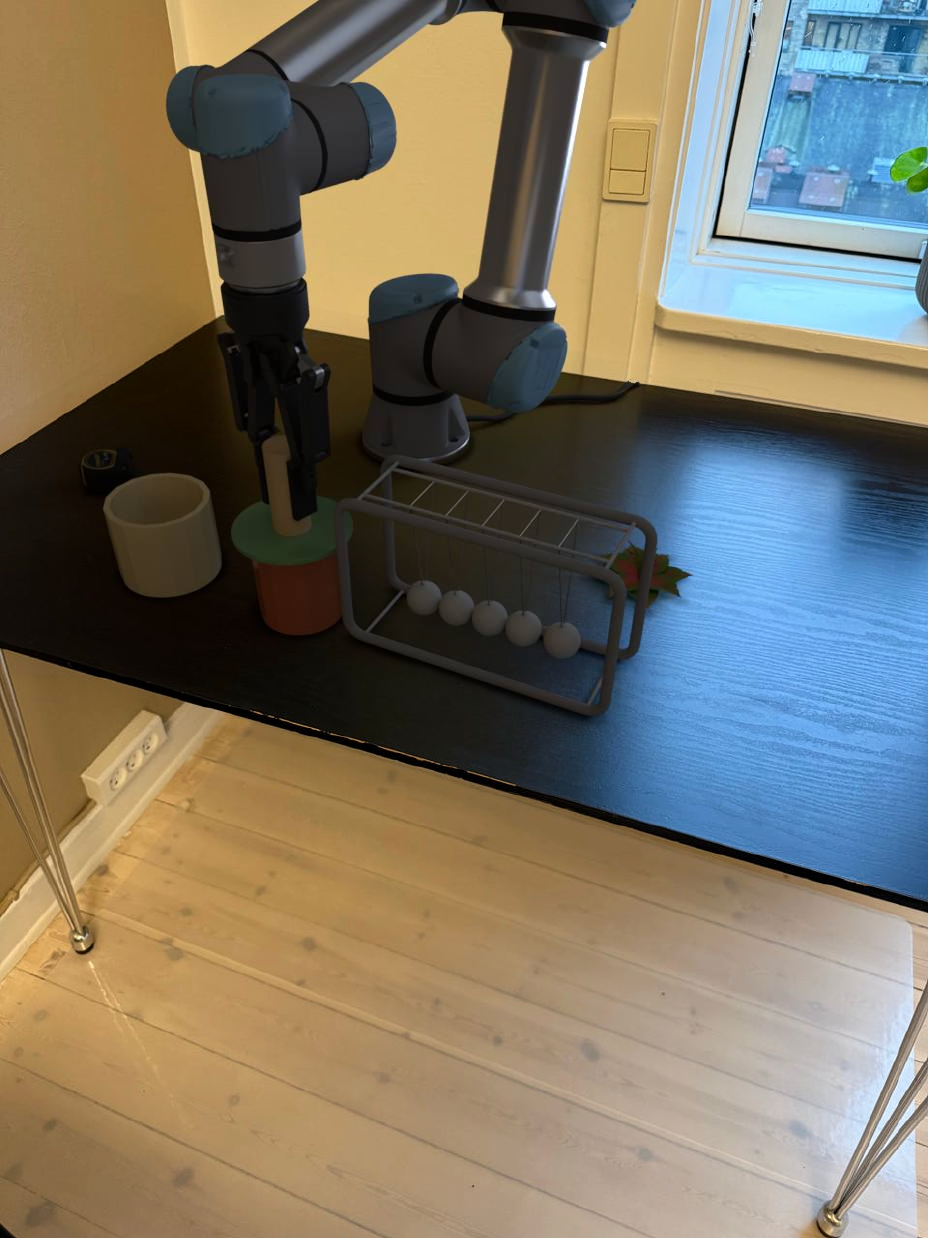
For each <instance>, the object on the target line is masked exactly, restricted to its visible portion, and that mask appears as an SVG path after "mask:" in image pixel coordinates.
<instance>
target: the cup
mask: <svg viewBox="0 0 928 1238" xmlns="http://www.w3.org/2000/svg"><path fill="white" fill-rule="evenodd" d="M251 560H252V559H251ZM251 562H252V567H253V574H254V579H255V587H256V592H257V598H258V604H259V612H260V615H261V617H262V618H261V619H262V621H263V622H264V623H265V624H266V625H267V626H268V627H269V628H270V629H272V630H273V631H275V632H278V633H280V634H284V635H288V636H307V635H313V634H318V633H321V632H323V631H325V630H327V629H330V628H331V627H332V626H334V625H335V624H336V623H337V622H338V621H339V620H340V619H341V617H342V606H341V595H340V584H339V573H338V562H337V552H335V553H334V554H332V555H330V556H328V557H326V558H323V559H321V560H318V561H314V562H311V563H306V564H300V565H288V566H283V565H270V564H265V563H261V562H258V561H255V560H252V561H251Z"/></svg>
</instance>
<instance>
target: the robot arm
mask: <svg viewBox="0 0 928 1238" xmlns="http://www.w3.org/2000/svg"><path fill="white" fill-rule="evenodd" d="M636 3H637V0H316V1H315V2H314V3H312V4H311V5H309V6H308V7H306V8H305V9H304V10H302V11H300V12H299V13H298V14H296V15H294V16H293V17H291V18H290V19H288V21H285V23H283V24H281V25H280V26H279V27H277V28H276V29H274V30H273V31H271V32H270V33H268V34H267V35H265V36H264V37H263V38H261V39H259V40H258V41H256V42H255V43H254V44H252V45H250V46H249V47H248V48H247V49H245V50H244V51H243V52H240V53H239V54H238V55H236V56H235V57H233V58H231V59H230V60H228V61H227V62H225V63H224V64H222V65H220V66H217V67H215V66H214V65H212V64H211V65H210V64H207V63H206V64H200V65H189V66H185V67H184V68H181V69H180V70H179V71H178V72H177V73H176V74H175V75H174V76H173V78H172V79H171V80H170V83H169V86H168V88H167V91H166V97H165V111H166V117H167V121H168V123H169V127H170V129H171V132H172V133H173V135H174V136H175V138H176V140H177V141H178V142H180V143H181V145H182V146H184V147H185V148H187V149H188V150H191V151H193V152H195V153H199V157H200V158H199V159H200V163H201V169H202V175H203V181H204V187H205V194H206V199H207V200H206V201H207V205H208V206H207V207H208V212H209V218H210V225H211V230H212V234H213V241H214V249H215V256H216V262H217V263H216V264H217V270H218V276H219V278H220V279H221V280H222V281H223V282H222V284H221V285H220V287H219V288H220V295H221V302H222V309H223V315H224V321H225V323H226V325H227V327H228V328H229V329H230V330H226V331H224V332H221V333H219V334H217V335H216V342H217V345H218V348H219V350H220V353H221V355H222V357H223V363H224V367H225V374H226V380H227V385H228V391H229V397H230V401H231V407H232V408H231V409H232V414H233V418H234V424H235V428H236V429H237V431H238V432H240V433H242V432H244V433H246V434H247V439H248V440H249V442H250V443H251V444H252V447H253V454H254V462H255V465H256V469H257V471H258V477H259V484H260V492H261V501H263V503H265V504H267V505H268V504H270V502H269V495H268V488H267V481H266V473H265V466H264V459H263V452H262V444H263V442H264V441H266V440H267V439H269V438H271V437H273V436H274V435H276V434H278V433H280V431H281V429H279V428H278V427H277V426H276V424H275V423H276V401H277V405H278V410H279V413H280V417H281V422H282V425H283V429H284V435H286V438H287V442H288V446H289V450H290V454H291V458H292V459H291V460H289V461H287V462H286V465H287V474H288V482H289V491H290V499H291V508H292V516H293V519H294V520H296V521H297V522H298V521H300V520H302V519H304V518H306V517H307V516H309V515H311V514H313V513H315V512H317V511H318V508H317V498H316V496H317V489H318V484H319V483H318V476H317V475H318V474H317V473H318V472H317V464H318V463H320V462H322V461H324V460H326V459H328V458H330V457H331V456H332V449H331V430H330V413H329V412H330V411H329V410H330V409H329V395H328V391H329V390H328V387H329V382H330V378H331V376H332V375H331V374H332V370H331V366H330V365H329V364H328V363H327V362H323V363H321V364H318V363H316V362H315V361H314V360H313V359H312V358H311V357H310V356H309V348H308V345H307V344H306V341H305V338H304V330H305V328H306V325H307V323H308V322H309V320H310V315H311V313H310V303H309V293H308V292H309V291H308V282H307V280H306V279H305V278H304V276H305V274H306V272H307V263H306V252H305V243H304V235H303V222H302V209H301V196H305V195H309V194H313V193H314V192H318V191H321V190H324V189H328V188H332V187H335V186H338V185H341V184H345V183H348V182H351V181H360V180H362V179H364V177H366V176H368V175H370V174H372V173H375V172H377V171H380V170H381V169H383V168H384V167H386V165H387V164H388V163H389V162H390V160H391V159H392V157H393V155H394V153H395V150H396V147H397V141H398V139H397V136H398V135H397V134H398V130H397V120H396V117H395V112H394V111H393V108H392V106H391V104H390V102H389V100H388V99H387V97H386V96H385V94H383V92H382V91H381V90H380V89H379V88H377V87H376V86H375V85H372V84H371V83H369V82H365V81H356V82H353V81H354V80H355V79H357V78H358V77H359V76H361V75H362V74H364V72H366V71H367V70H369V69H371V68H372V67H373V66H374V65H375V64H377V63H378V62H380V61H381V60H382V59H384V58H385V57H386V56H388V54H390V53H391V52H394V50H395V49H397V48H399V46H401V45H402V44H403V43H405V42H406V41H407V40H409V39H410V38H411V37H413V36H414V35H415V34H417V33H418V32H420V31H421V30H422V29H423V28H425V27H426V26H428V25H430V26H441V25H445V24H447V23H448V22H450V21H451V20H453V19H454V18H455V17H456V16H458V15H461V14H467V13H475V12H476V13H478V12H479V13H480V12H486V13H497V14H502V20H501V21H502V22H501V28H500V31H501V33H502V34H503V36H504V38H505V40H506V41H507V43H508V44H509V46H510V50H511V55H510V61H509V68H508V75H507V82H506V88H505V94H504V100H503V107H502V113H501V121H500V127H499V135H498V140H497V148H496V154H495V161H494V167H493V173H492V180H491V181H492V182H491V186H490V194H489V201H488V206H487V207H488V208H487V213H486V220H485V228H484V234H483V235H484V236H483V239H482V240H483V241H482V246H481V247H482V248H481V254H480V260H479V266H478V272H477V273H478V274H477V276H476V277H475V278H474V279H473V280H472V281H471V282H470V283H469V284H467V285H466V286H465V287H464V288H463V291H462V296H461V297H459V293H460V288H459V285H458V282H457V280H456V279H455V278H454V277H453V276H451V275H447V274H442V273H413V274H406V275H401V276H396V277H393V278H390V279H387V280H385V281H382V282H381V283H379V284H377V285H376V286H375V287H374V288H373V289H372V290H371V292H370V294H369V297H368V317H367V319H366V320H367V327H368V340H369V341H368V342H369V355H370V370H371V382H372V383H371V384H372V385H371V386H372V395H371V397H370V402H369V406H368V408H367V412H366V415H365V420H364V422H363V425H362V431H361V432H362V433H361V437H362V438H361V441H362V448H363V450H364V452H365V453H366V455H368V456H369V457H370V458H371V459H373V460H374V461H375V462H377V463H380V464H382V463H383V461H384V460H385V459H386V458H387V457H388V456H391V455H403V456H407V457H411V458H415V459H418V460H422V461H426V462H430V463H434V464H438V465H442V466H445V465H448V464H450V463H452V462H455V461H456V460H458V459H460V458H461V457H462V456H464V454H466V452H467V451H468V449H469V448H470V438H471V437H470V434H471V433H470V432H471V431H470V428H469V424H468V422H469V423H470V422H472V423H473V422H487V423H490V422H491V423H497V422H501V421H504V420H507V419H509V418H510V417H512V416H514V415H515V414H525V413H528V412H531V411H532V410H534V409H535V408H537V407H538V406H540V404H546V403H555V402H565V401H566V402H567V401H586V402H587V401H588V402H602V401H611V400H615V399H617V398H620V397H621V396H622V395H624V394H625V393H626V391H624V392H622V393H619V394H615V393H614V392H613V393H614V394H615V395H613V394H611V393H607V394H583V393H582V394H579V393H577V394H576V393H575V394H574V393H573V394H572V393H570V394H569V393H568V394H557V395H549V394H550V393H551V392H552V390H553V389H554V387H555V386H556V384H557V382H558V381H559V378H560V376H561V374H562V371H563V368H564V365H565V363H566V358H567V354H568V346H569V345H568V344H569V342H568V340H567V339H568V336H567V332H566V330H565V328H563V327H562V326H561V325H560V324H559V323H557V322H555V318H556V314H557V313H556V312H557V306H558V304H557V302H556V300H555V299H554V298H553V296H552V294H551V293H550V291H549V284H550V283H549V282H550V278H551V271H552V266H553V260H554V255H555V249H556V244H557V240H558V233H559V229H560V224H561V217H562V213H563V207H564V201H565V197H566V191H567V185H568V179H569V175H570V174H569V173H570V170H571V169H570V168H571V163H572V157H573V151H574V147H575V141H576V136H577V131H578V125H579V119H580V114H581V109H582V103H583V98H584V93H585V89H586V83H587V82H586V81H587V77H588V71H589V66H590V64H591V62H592V61H593V60H594V59H595V58H596V57H598V56H599V55H600V54H601V53H602V52H604V51H605V50H606V48H607V45H608V39H609V33H610V29H611V28H612V29H614V28H617V27H618V26H621V25H623V24H624V23H626V22H627V20H628V19H629V18H630V16H631V15H632V9H634V8H635V6H636ZM631 384H632V383H631V382H629V380H627V381H626V382H625V383H624V384H623V385H622V386H621V387H620V388H619V389H618V390H617V393H618V392H620V391H623V390H624V389H626V388H627V387H629V385H631ZM631 386H634V387H635V388H641V387H642V384H641V383H640V382H639V381H638V382H636V383H635V384H633V385H631ZM629 388H630V387H629ZM548 395H549V396H548ZM610 395H611V396H610ZM460 397H463V398H466V399H469V400H471V401H474V402H477V403H480V404H483V405H486V406H487V407H488V408H491V409H493V410H502V411H505V412H503V413H501V414H495V415H487V414H486V415H483V414H474V415H465V412H464V408H463V406H462V403H461V400H460ZM246 414H247V415H246ZM395 468H398V469H404V470H405V469H407V470H410V469H409V468H405V467H401V466H396V467H395Z"/></svg>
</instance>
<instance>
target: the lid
mask: <svg viewBox="0 0 928 1238" xmlns="http://www.w3.org/2000/svg"><path fill="white" fill-rule="evenodd" d="M262 452H263V459H264V466H265V473H266V481H267V488H268V495H269V502H270V504H268V505H267V504H265V503H263V501H262V500H260V501H258V502H256V503H253V504H251V505H250V506H248V507H247V508H245V509H244V510H242V511H241V512H240V513H239V514H238V515H237V516H236V517H235V519H234V521H233V522H232V525H231V529H230V536H231V541H232V543H233V546H234V548H236V550H237V551H238V552H239V553H240V554H242V555H243V556H245V557H246V558H247V559H250V560H255V561H258V562H261V563H265V564H270V565H283V566H288V565H300V564H306V563H311V562H314V561H318V560H321V559H323V558H326V557H328V556H330V555H332V554H334V553H335V552H337V551H336V540H335V529H334V518H333V513H334V508H335V506H336V504H337V503H338V501H335V500H333V499H331V498H328V497H324V496H322V495H316V498H317V508H318V511H317V512H315V513H313V514H311V515H309V516H307V517H306V518H304V519H302V520H300V521H298V522H297V521H296V520H294V519H293V516H292V508H291V499H290V491H289V482H288V474H287V465H286V462H287V461H289V460H291V459H292V458H291V454H290V450H289V446H288V442H287V438H286V434H281V435H275V436H274V435H273V436H271V438H269V439H267V440H266V441H264V442H263V444H262ZM345 523H346V536H347V543H348V542H349V541H350V539H351V537H352V535H353V532H354V521H353V517H352V515H351V513H350V511H349V510H346V511H345Z"/></svg>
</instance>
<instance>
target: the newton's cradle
mask: <svg viewBox="0 0 928 1238" xmlns="http://www.w3.org/2000/svg"><path fill="white" fill-rule="evenodd" d="M396 466H401V467H405V468H409V469H408V470H413V471H417V472H421V473H424V474H429V475H432V476H428V475H423V474H420V473H416V472H412V471H408V470H405V468H404V469H402V468H398V467H396ZM392 472H394V473H398V474H400V475H401V474H402V475H405V476H409V477H414V478H417V479H421V480H425V481H428V482H430V484H429V485H428V487H426V488H425V489H424V490H423V492H422V493H420V495H418V497H416V499H414V500H413V502H412V503H411V504H405V503H402V502H398V501H394V500H393V485H392ZM379 473H380V476H379V477H378V478H377V479H375V481H373V482H372V483H371V485H369V486H368V487H367V488H366V489H365V490H364V491H363V492H362V493H361V494H360V495H359V496H358V497H357V498H354V497H345V498H342V499H340V500H339V501H337V504H336V506H335V508H334V513H333V518H334V529H335V540H336V551H337V562H338V573H339V584H340V595H341V606H342V616H341V617H342V622H343V626H344V627H345V630H347V632H348V633H349V634H350V635H351V636H352V637H353V638H355V639H356V640H358V641H361V642H364V643H366V644H369V645H372V646H376V647H379V648H381V649H384V650H387V651H391V652H394V653H397V654H399V655H402V656H404V657H405V656H406V657H409V658H412V659H414V660H417V661H420V662H422V663H423V662H424V663H427V664H430V665H432V666H436V667H439V668H442V669H444V670H448V671H450V672H454V673H457V674H459V675H463V676H466V677H469V678H472V679H475V680H478V681H480V682H484V683H487V684H490V685H493V686H496V687H499V688H502V689H505V690H508V691H511V692H514V693H516V694H520V695H523V696H526V697H529V698H532V699H535V700H538V701H541V702H544V703H547V704H550V705H553V706H556V707H559V708H562V709H565V710H568V711H571V712H574V713H577V714H580V715H583V716H587V717H598V716H601V715H604V714H605V713H606V712H607V711H608V710H609V709H610V706H611V703H612V697H613V690H614V684H615V676H616V670H617V663H618V660H629V659H631V658H634V657H635V655H636V654H637V653H638V652H639V651H640V648H641V644H642V643H641V642H642V636H643V630H644V626H645V625H644V623H645V618H646V612H647V608H646V607H647V601H648V595H649V589H650V583H651V577H652V571H653V565H654V559H655V553H656V552H657V550H656V548H658V547H657V546H658V533H657V530H656V528H655V527H654V525H653V524H652V522H650V521H649V520H648V519H646V518H645V517H643V516H641V515H638V514H634V513H630V512H626V511H623V510H619V509H615V508H611V507H606V506H603V505H600V504H595V503H591V502H587V501H583V500H579V499H575V498H573V497H568V496H564V495H560V494H556V493H551V492H548V491H544V490H540V489H535V488H533V487H528V486H525V485H520V484H516V483H512V482H509V481H505V480H500V479H496V478H493V477H489V476H485V475H481V474H476V473H473V472H469V471H466V470H461V469H458V468H454V467H450V466H445V465H438V464H434V463H430V462H426V461H422V460H418V459H415V458H411V457H407V456H403V455H391V456H388V457H387V458H386V459H385V460H384V461H383V463H381V465H380V472H379ZM433 476H435V477H436V476H437V477H441V478H444V479H448V480H451V481H456V482H460V483H463V484H467V485H472V486H475V487H479V488H483V489H485V490H487V489H488V490H491V491H495V492H498V493H502V494H506V495H510V496H514V497H518V498H521V499H525V500H528V501H533V502H537V503H541V504H545V505H549V506H553V507H556V508H560V509H564V510H568V511H572V512H575V513H580V514H582V515H583V514H584V515H587V516H590V517H596V518H599V519H602V520H607V521H610V522H613V523H619V524H622V525H626V526H629V527H624V526H621V525H617V524H613V523H609V522H606V521H600V520H597V519H593V518H589V517H586V516H581V515H577V514H574V513H570V512H567V511H562V510H559V509H555V508H551V507H547V506H543V505H539V504H535V503H532V502H528V501H523V500H520V499H516V498H512V497H509V496H504V495H501V494H497V493H493V492H489V491H485V490H481V489H478V488H473V487H470V486H467V485H463V484H458V483H455V482H451V481H447V480H443V479H439V478H435V477H433ZM431 482H432V483H431ZM379 484H380V493H381V497H380V496H375V495H372V494H369V493H371V491H372V490H373V489H374V488H376V487H377V486H378V485H379ZM435 484H439V485H443V486H447V487H450V488H451V487H452V488H455V489H459V490H463V491H466V492H465V493H464V494H463V495H462V496H461V498H460V499H459V500H458V501H457V502H456V503H455V504H454V505H453V506H452V507H451V508H450V510H449V511H448V512H447V513H446V514H442V513H439V512H436V511H435V512H434V511H433V506H434V505H433V503H434V493H435V492H434V491H435ZM430 487H431V500H430V510H427V509H423V508H420V507H417V506H413V505H414V503H415V502H417V501H418V499H420V497H421V496H422V495H423V494H424V493H426V491H427V490H428V489H429V488H430ZM469 493H474V494H478V495H482V496H485V497H490V498H493V499H497V500H500V501H501V502H500V503H499V505H498V506H497V507H496V508H495V509H494V510H493V512H492V513H491V514H490V515H489V516H488V517H487V519H486V520H485V522H483V523H482V524H478V523H476V522H475V523H474V522H471V521H468V520H467V514H468V506H469V505H468V503H469V495H470V494H469ZM465 496H466V500H465V511H464V518H463V519H461V518H456V517H453V516H449V514H450V512H452V510H453V509H454V508H455V507H456V506H457V505H458V504H459V502H461V500H463V498H464V497H465ZM364 498H365V499H369V500H372V501H376V502H380V503H381V505H380V504H377V503H373V502H368V501H366V500H363V499H364ZM505 502H509V503H512V504H515V505H520V506H523V507H528V508H532V509H535V510H538V512H537V513H536V514H535V515H534V516H533V518H532V519H531V521H530V522H529V523H528V524H527V526H526V527H524V529H523V531H522V532H521V533H520V535H519V534H515V533H512V532H507V531H504V530H502V524H503V517H504V508H505ZM500 506H501V513H500V522H499V529H496V528H493V527H490V526H486V525H485V524H486V523H487V522H488V520H490V518H492V516H493V515H494V514H495V513H496V511H497V510H498V509H499V508H500ZM394 507H398V508H401V509H405V510H409V511H410V513H409V512H406V511H401V510H398V509H396V508H395V509H394ZM346 510H348V511H349V510H351V511H355V512H359V513H362V514H365V515H369V516H372V517H376V518H380V519H382V530H383V533H382V534H383V551H384V569H385V570H384V571H385V572H384V573H385V576H386V579H387V581H388V583H389V584H390V586H391V587H392V588H393V589H395V590H396V591H397V592H398V593H397V594H396V595H395V597H393V599H392V600H391V601H390V602H389V603H388V604H387V606H385V608H384V609H383V610H382V611H381V612H380V613H379V614H378V615H377V617H376V618H375V619H374V620H373V621H372V623H371V624H370V625H369V626H368V627H367V628H366V629H365V630H364V629H362V628H361V627H359V626H358V625H357V624H356V622H355V619H354V611H353V601H352V598H353V597H352V586H351V573H350V563H349V562H350V561H349V550H348V542H347V536H346V523H345V511H346ZM542 511H543V512H547V513H550V514H555V515H559V516H561V517H566V518H569V519H573V520H576V521H575V522H574V524H573V525H572V526H571V528H570V529H569V531H568V532H567V534H566V535H565V536H564V537H563V539H562V541H561V542H560V544H559V545H555V544H552V543H548V542H544V541H541V540H538V536H539V535H538V534H539V528H540V520H541V514H542ZM413 512H416V513H419V514H423V515H427V516H429V518H428V517H423V516H419V515H416V514H413ZM537 516H538V517H537ZM432 517H434V518H437V519H441V520H445V522H442V521H437V520H434V519H432ZM536 517H537V523H536V531H535V538H534V539H533V538H530V537H527V536H523V534H524V533H525V532H526V530H527V529H528V527H529V526H531V523H532V522H533V521H534V520H535V518H536ZM448 521H449V522H452V523H456V524H460V525H463V527H460V526H456V525H452V524H449V523H448ZM580 521H581V522H584V523H588V524H592V525H596V526H601V527H604V528H608V529H610V530H611V529H612V530H616V531H619V532H623V533H624V535H623V537H621V538H622V539H620V542H619V543H618V545H617V546H616V548H615V549H614V551H613V552H612V553H613V554H612V553H611V554H612V556H611V558H610V559H609V560H607V559H603V558H602V557H599V556H596V555H591V554H588V553H584V552H581V551H577V550H576V544H577V535H578V527H579V522H580ZM394 522H395V523H399V524H400V525H405V526H408V527H412V532H413V538H414V544H415V545H414V546H415V550H416V551H415V552H416V559H417V563H418V571H419V578H420V580H418V581H416V582H414V583H413V584H412V585H411V584H408V583H406V582H403V581H402V580H400V578H399V577H398V576H397V573H396V557H395V556H396V555H395V554H396V553H395V533H394V530H395V529H394ZM466 526H467V527H470V528H474V529H478V530H481V532H477V531H474V530H471V529H467V528H466ZM574 527H575V532H574V541H573V546H572V547H573V548H572V549H570V548H566V547H563V546H561V545H562V544H563V542H564V541H565V540H566V538H567V537H568V535H569V534H570V533H571V532H572V530H573V528H574ZM415 528H416V529H419V530H423V531H426V532H428V537H427V548H426V549H427V550H426V561H425V571H424V572H425V573H424V580H423V575H422V574H423V573H422V569H421V562H420V556H419V548H418V542H417V535H416V529H415ZM635 528H636V529H638V530H640V532H642V534H643V535H644V539H645V541H644V548H643V550H644V553H643V559H642V566H641V572H640V578H639V585H638V591H637V597H636V598H635V605H634V611H633V617H632V622H631V623H632V624H631V630H630V634H629V635H630V637H629V643H628V646H627V647H625V648H620V644H621V635H622V630H623V624H624V623H623V622H624V616H625V609H626V602H627V596H628V594H627V593H628V591H627V592H626V587H625V584H624V582H623V580H622V579H621V578H620V577H619V575H617V574H616V573H615V572H613V571H612V570H609V568H610V566H611V564H612V563H613V561H614V560H615V558H616V556H617V555H618V553H620V551H621V550H622V548H623V546H624V545H625V543H626V541H627V540H628V538H629V537H630V535H631V533H632V532H633V530H634V529H635ZM485 532H488V533H493V534H496V535H498V537H495V536H492V535H488V534H485ZM431 533H433V534H437V535H440V536H445V537H447V544H448V552H449V553H448V554H449V562H450V571H451V578H452V588H453V590H450V591H448V592H445V594H442V592H441V590H440V588H439V587H438V585H436V584H435V583H434V582H433V581H431V580H427V575H428V567H429V566H428V563H429V553H430V552H429V551H430V540H431ZM501 536H503V537H507V538H511V539H514V540H517V541H519V543H517V542H514V541H510V540H507V539H503V538H501ZM450 538H451V539H455V540H458V541H461V551H460V560H459V561H460V562H459V569H458V570H459V571H458V580H457V589H456V584H455V576H454V568H453V559H452V550H451V542H450V541H451V540H450ZM522 542H525V543H528V544H532V545H534V546H533V547H532V546H528V545H525V544H522ZM465 543H468V544H472V545H476V546H479V547H482V548H483V560H484V573H485V585H486V598H487V600H483V601H480V602H479V603H478V604H474V601H473V598H472V597H471V596H470V594H468V593H467V592H465V591H463V590H460V583H461V576H462V575H461V573H462V564H463V556H464V555H463V554H464V544H465ZM537 546H540V547H543V548H545V549H546V548H547V549H551V550H554V551H558V554H556V553H554V552H551V551H547V550H542V549H539V548H537ZM486 548H487V549H490V550H494V551H496V554H495V563H494V571H493V579H492V580H493V581H492V586H491V587H492V588H491V594H490V593H489V581H488V568H487V556H486V555H487V554H486ZM500 552H501V553H504V554H508V555H511V556H514V557H515V556H516V557H518V558H519V563H520V565H519V566H520V588H521V589H520V590H521V593H520V594H521V610H518V611H515V612H513V613H512V614H511V615H509V614H508V612H507V610H506V608H505V607H504V606H503V605H502V604H501V603H500V602H498V601H496V600H494V589H495V582H496V576H497V575H496V573H497V567H498V565H497V564H498V557H499V553H500ZM561 553H564V554H568V555H571V557H568V556H565V555H561ZM656 554H657V553H656ZM574 557H580V558H583V559H587V560H590V561H594V562H597V563H601V564H604V566H605V567H602V566H601V565H597V564H594V563H590V562H586V561H583V560H579V559H575V558H574ZM523 559H526V560H529V561H531V565H530V566H531V567H530V574H529V580H528V582H529V583H528V587H527V588H528V589H527V595H526V602H525V607H524V583H523V582H524V578H523ZM534 563H539V564H543V565H546V566H550V567H554V568H558V577H559V578H558V581H559V585H558V586H559V612H560V621H558V622H555V623H552V624H551V625H549V626H545V625H542V621H541V620H540V618H539V617H538V615H537V614H536V613H534V612H532V611H529V610H528V604H529V598H530V591H531V584H532V576H533V571H534V570H533V569H534ZM562 570H564V571H569V578H568V585H567V591H566V592H567V593H566V600H565V608H564V614H563V601H562V572H561V571H562ZM573 573H575V574H579V575H583V576H586V577H589V578H593V579H597V580H600V581H603V582H605V583H607V584H608V585H609V587H610V586H611V587H612V589H613V591H614V596H612V597H613V598H612V606H611V612H610V618H609V619H610V620H609V621H610V622H609V627H608V634H607V640H606V643H605V644H604V643H602V642H599V641H595V640H592V639H588V638H585V637H581V635H580V632H579V630H578V629H577V628H576V627H575V626H574V624H571V623H570V622H566V618H567V611H568V603H569V596H570V588H571V581H572V574H573ZM489 594H490V595H491V597H490V595H489ZM402 595H406V602H407V603H406V604H407V605H408V608H409V609H410V610H411V611H412V612H413V613H414V614H416V615H419V616H429V615H432V614H434V613H435V612H437V611H438V612H439V616H440V618H441V619H442V620H443V621H444V622H445V623H447V624H448V625H451V626H457V627H458V626H463V625H466V623H468V622H469V621H470V620H471V623H472V626H473V628H474V629H475V630H476V632H477V633H479V634H481V635H482V636H486V637H492V636H493V637H494V636H496V635H499V634H500V633H502V632H503V630H505V634H506V638H507V639H508V640H509V641H510V642H511V643H512V644H513V645H515V646H518V647H525V648H526V647H530V646H533V645H534V644H535V643H536V642H537V641H538V640H539V639H540V637H543V645H544V649H545V650H546V651H547V653H548V654H549V655H550V656H552V658H555V659H559V660H560V659H561V660H563V659H564V660H565V659H568V658H571V657H574V655H575V654H576V653H577V652H578V651H579V649H582V650H585V651H588V652H592V653H596V654H598V655H601V656H604V664H603V669H602V675H601V677H600V678H599V680H598V682H597V684H596V686H595V687H594V689H593V691H592V693H591V695H590V696H589V699H588V700H587V702H586V703H585V702H582V701H579V700H576V699H573V698H569V697H567V696H564V695H562V694H561V695H560V694H558V693H555V692H553V691H549V690H546V689H543V688H540V687H537V686H534V685H531V684H527V683H525V682H521V681H519V680H515V679H514V678H513V679H512V678H509V677H506V676H503V675H500V674H497V673H494V672H491V671H488V670H485V669H482V668H479V667H475V666H473V665H469V664H467V663H464V662H461V661H458V660H454V659H451V658H448V657H445V656H442V655H440V654H436V653H433V652H431V651H427V650H424V649H421V648H418V647H415V646H412V645H410V644H406V643H403V642H399V641H397V640H394V639H390V638H388V637H384V636H381V635H378V634H375V633H372V632H371V631H372V630H373V629H374V627H375V626H376V625H377V624H378V623H379V622H380V621H381V619H382V618H383V617H384V616H385V615H386V613H388V611H390V609H391V608H392V607H393V605H394V604H395V603H396V602H397V601H398V600H399V599H400V597H401V596H402ZM563 615H564V618H563ZM599 691H600V692H599ZM598 692H599V699H598V702H597V703H596V704H592V703H593V701H594V699H595V697H596V696H597V694H598Z"/></svg>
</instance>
